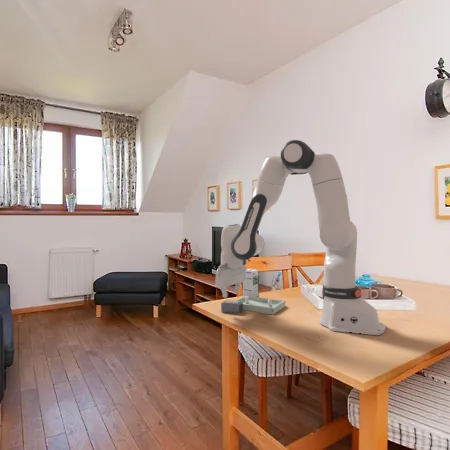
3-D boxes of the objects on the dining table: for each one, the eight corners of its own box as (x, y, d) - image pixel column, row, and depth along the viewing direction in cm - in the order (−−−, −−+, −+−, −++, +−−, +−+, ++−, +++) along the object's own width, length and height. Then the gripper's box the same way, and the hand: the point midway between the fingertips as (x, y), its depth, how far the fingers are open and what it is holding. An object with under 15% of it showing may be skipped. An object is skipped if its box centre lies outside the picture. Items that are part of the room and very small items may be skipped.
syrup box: (252, 301, 156) (252, 270, 155) (242, 299, 159) (242, 269, 159) (259, 298, 160) (258, 269, 160) (248, 297, 164) (248, 268, 163)
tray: (285, 306, 146) (285, 297, 146) (273, 314, 134) (273, 304, 134) (245, 300, 157) (245, 292, 157) (230, 308, 145) (230, 299, 145)
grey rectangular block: (243, 311, 140) (242, 301, 140) (239, 314, 136) (239, 304, 136) (225, 309, 143) (225, 299, 143) (221, 312, 139) (221, 302, 139)
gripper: (224, 266, 129) (224, 301, 129) (248, 260, 146) (248, 291, 147) (211, 265, 132) (211, 299, 133) (236, 259, 150) (235, 289, 150)
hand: (230, 294), depth 140 cm, fingers open, 8 cm apart
